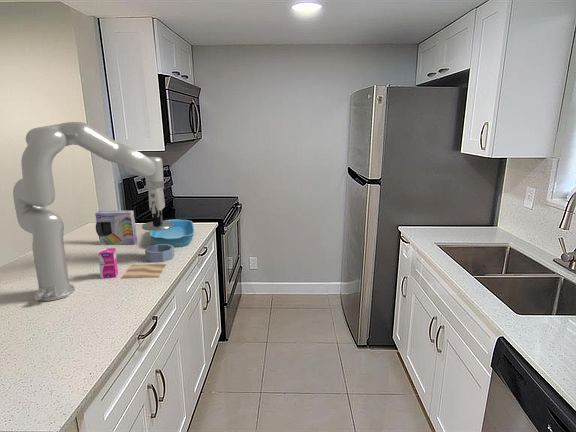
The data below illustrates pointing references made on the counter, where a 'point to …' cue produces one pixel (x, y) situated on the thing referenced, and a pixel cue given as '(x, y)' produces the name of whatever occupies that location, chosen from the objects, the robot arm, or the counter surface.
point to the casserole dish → (175, 234)
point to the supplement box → (108, 263)
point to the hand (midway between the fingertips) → (157, 224)
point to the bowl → (159, 253)
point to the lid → (163, 226)
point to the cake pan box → (116, 227)
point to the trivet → (144, 271)
